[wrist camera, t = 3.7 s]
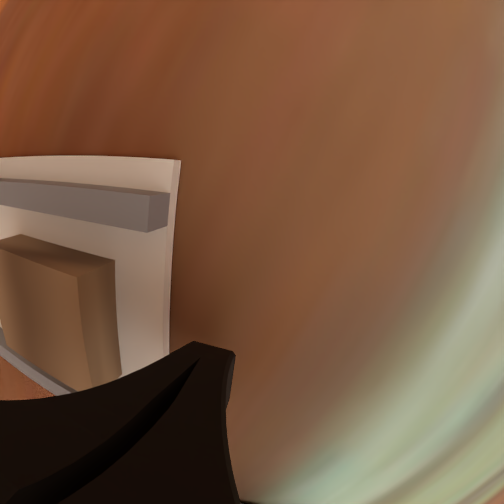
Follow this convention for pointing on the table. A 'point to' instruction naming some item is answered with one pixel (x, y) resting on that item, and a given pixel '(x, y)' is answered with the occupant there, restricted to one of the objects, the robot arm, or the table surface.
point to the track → (101, 238)
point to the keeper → (60, 310)
